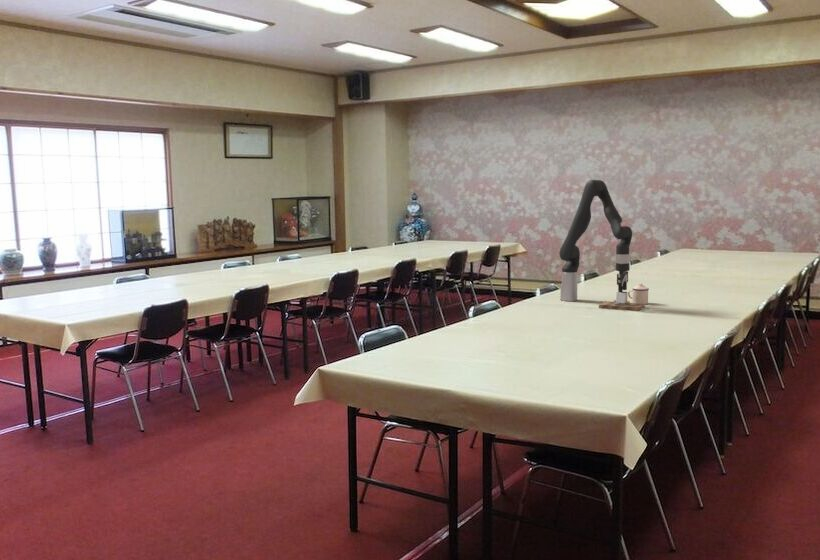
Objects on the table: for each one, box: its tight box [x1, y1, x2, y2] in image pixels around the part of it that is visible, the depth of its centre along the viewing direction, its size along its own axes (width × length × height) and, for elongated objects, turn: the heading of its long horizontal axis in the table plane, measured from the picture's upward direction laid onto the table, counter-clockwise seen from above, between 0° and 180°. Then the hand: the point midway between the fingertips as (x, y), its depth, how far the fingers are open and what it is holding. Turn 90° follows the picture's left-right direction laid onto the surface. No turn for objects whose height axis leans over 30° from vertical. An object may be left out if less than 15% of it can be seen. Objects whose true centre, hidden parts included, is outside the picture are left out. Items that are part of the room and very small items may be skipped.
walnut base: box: [598, 301, 646, 312], centre depth 415 cm, size 22×13×3 cm, turn 59°
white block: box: [613, 291, 631, 303], centre depth 414 cm, size 8×5×6 cm, turn 59°
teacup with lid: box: [627, 282, 650, 305], centre depth 428 cm, size 12×9×12 cm
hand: (622, 291), depth 413 cm, fingers open, 8 cm apart
